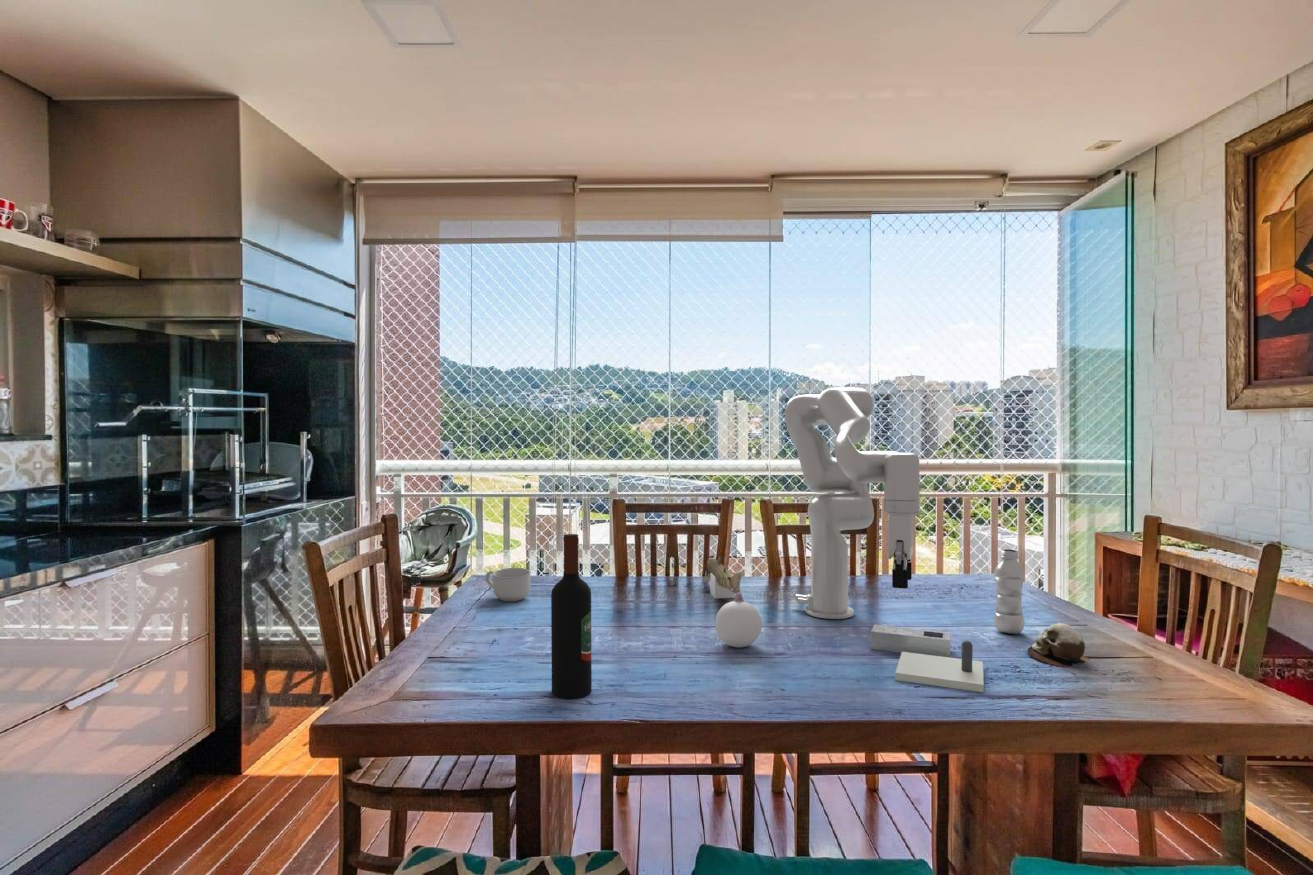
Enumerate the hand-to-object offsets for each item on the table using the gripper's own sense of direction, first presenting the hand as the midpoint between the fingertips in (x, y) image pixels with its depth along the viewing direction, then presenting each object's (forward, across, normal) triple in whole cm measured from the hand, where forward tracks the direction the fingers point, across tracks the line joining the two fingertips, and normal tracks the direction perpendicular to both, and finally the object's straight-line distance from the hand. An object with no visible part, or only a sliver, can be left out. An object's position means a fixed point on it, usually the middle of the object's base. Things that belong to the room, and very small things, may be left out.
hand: (902, 583), depth 163 cm
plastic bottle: (+15, -24, +22) cm, 36 cm away
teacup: (+14, -3, -109) cm, 109 cm away
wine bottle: (+15, +51, -56) cm, 77 cm away
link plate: (+15, -1, +1) cm, 15 cm away
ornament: (+15, +12, -35) cm, 40 cm away
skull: (+16, -8, +32) cm, 36 cm away
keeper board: (+15, +13, +8) cm, 22 cm away
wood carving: (+14, -29, -52) cm, 61 cm away
